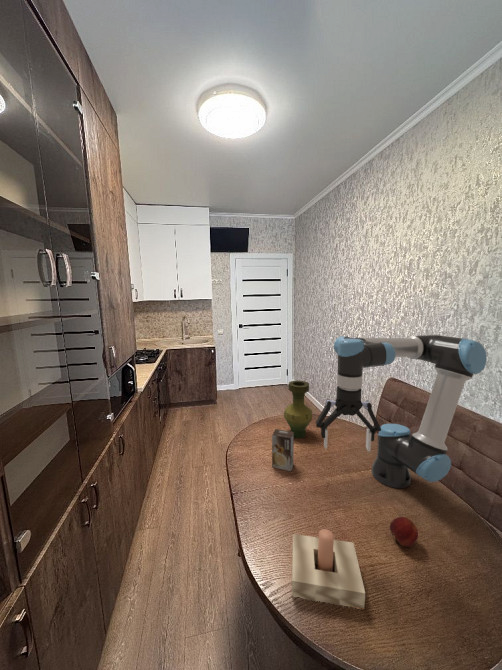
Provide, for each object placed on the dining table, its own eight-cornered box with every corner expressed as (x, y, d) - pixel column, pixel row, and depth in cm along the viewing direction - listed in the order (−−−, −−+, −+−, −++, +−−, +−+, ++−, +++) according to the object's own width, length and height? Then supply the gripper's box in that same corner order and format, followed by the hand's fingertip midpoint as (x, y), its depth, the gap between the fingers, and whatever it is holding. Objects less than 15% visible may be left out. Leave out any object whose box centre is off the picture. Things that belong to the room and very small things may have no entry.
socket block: (352, 557, 81) (353, 542, 80) (364, 610, 67) (365, 593, 67) (292, 547, 84) (292, 533, 83) (291, 597, 70) (292, 580, 69)
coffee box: (294, 463, 126) (294, 431, 124) (290, 471, 120) (291, 438, 118) (275, 459, 129) (275, 428, 127) (271, 467, 123) (271, 434, 121)
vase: (282, 426, 161) (283, 379, 157) (309, 427, 161) (310, 379, 156) (284, 441, 145) (285, 388, 141) (314, 442, 144) (316, 389, 140)
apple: (416, 557, 81) (419, 534, 80) (388, 544, 85) (389, 522, 84) (416, 538, 87) (419, 516, 86) (390, 527, 91) (392, 506, 90)
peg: (330, 569, 77) (332, 530, 75) (332, 584, 73) (334, 543, 71) (316, 567, 78) (318, 528, 76) (317, 581, 74) (319, 540, 72)
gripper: (386, 384, 88) (382, 444, 91) (308, 381, 91) (307, 439, 95) (394, 392, 80) (390, 457, 84) (310, 389, 84) (309, 451, 87)
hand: (346, 447), depth 89 cm, fingers open, 13 cm apart
